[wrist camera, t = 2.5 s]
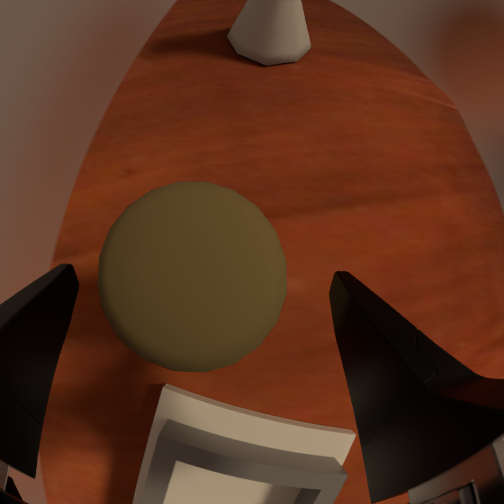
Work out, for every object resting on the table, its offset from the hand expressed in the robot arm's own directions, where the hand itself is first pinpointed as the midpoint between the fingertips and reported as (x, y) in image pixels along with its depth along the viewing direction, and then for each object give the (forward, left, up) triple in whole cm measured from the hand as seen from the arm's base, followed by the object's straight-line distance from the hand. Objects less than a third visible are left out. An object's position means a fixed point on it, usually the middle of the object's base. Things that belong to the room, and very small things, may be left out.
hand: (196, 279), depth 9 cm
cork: (0, 0, -8) cm, 8 cm away
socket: (-13, -5, -8) cm, 16 cm away
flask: (+22, +3, -8) cm, 24 cm away
